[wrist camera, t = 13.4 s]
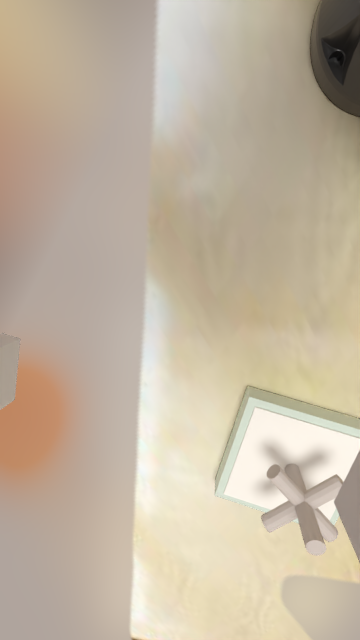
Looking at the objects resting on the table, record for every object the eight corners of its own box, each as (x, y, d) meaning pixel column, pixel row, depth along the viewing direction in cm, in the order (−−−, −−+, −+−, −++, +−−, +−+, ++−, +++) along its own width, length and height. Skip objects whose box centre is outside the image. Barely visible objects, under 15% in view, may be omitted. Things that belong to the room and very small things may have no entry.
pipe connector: (350, 478, 36) (397, 562, 26) (284, 513, 38) (304, 601, 29) (299, 421, 35) (328, 486, 25) (236, 461, 38) (240, 534, 28)
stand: (247, 385, 38) (249, 397, 35) (368, 421, 37) (381, 437, 34) (215, 479, 43) (214, 497, 39) (322, 514, 41) (330, 536, 38)
